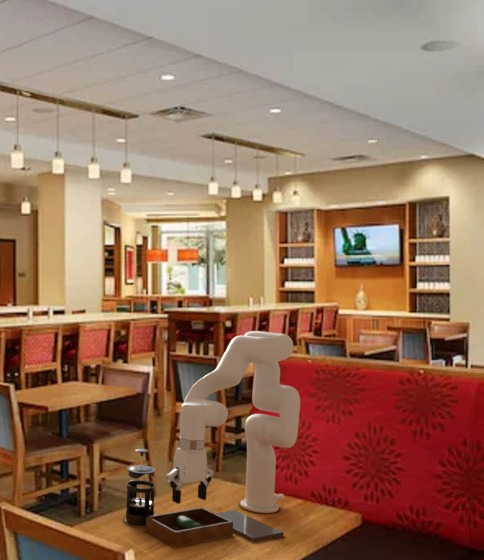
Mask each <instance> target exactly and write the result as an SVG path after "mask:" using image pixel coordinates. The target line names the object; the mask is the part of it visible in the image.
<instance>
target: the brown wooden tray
mask: <svg viewBox="0 0 484 560" xmlns="http://www.w3.org/2000/svg"><path fill="white" fill-rule="evenodd" d="M215 513H216V512H213V511H212V510H209V509H207V508H205V507H203V506H202V507H201V506H200V507H195V508H189V509H184V510H177V511H170V512H166V513H165V512H164V513H159V514H154V515H153V516H147V517H146V526H145V530H146V531H147V532H148V533H150V534H153V535H154V536H156V537H158V538H160V539H161V540H163V542H164V541H165V542H166V543H168V544H170V545H171V546H173V547H180V546H185V545H189V544H194V543H201V542H204V541H205V542H206V541H211V540H215V539H216V540H217V539H221V538H225V537H230V536H233V535H234V534H233V533H234V532H233V522H232V521H230V520H228V519H226V518H224V517H222V516H220V515H217V514H215ZM179 516H186V517H188V518H190V519H192V520H194V521H196V522H198V523H200V524H201V526H202V527H196V528H191V529H185V530H182V529H180V528H179V527H178V526H177V524H176V520H177V518H178V517H179Z"/></svg>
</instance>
